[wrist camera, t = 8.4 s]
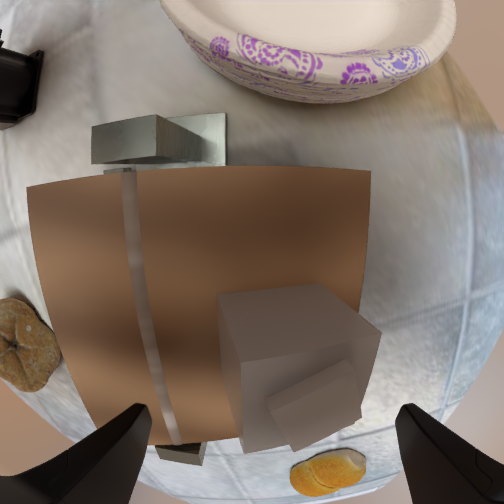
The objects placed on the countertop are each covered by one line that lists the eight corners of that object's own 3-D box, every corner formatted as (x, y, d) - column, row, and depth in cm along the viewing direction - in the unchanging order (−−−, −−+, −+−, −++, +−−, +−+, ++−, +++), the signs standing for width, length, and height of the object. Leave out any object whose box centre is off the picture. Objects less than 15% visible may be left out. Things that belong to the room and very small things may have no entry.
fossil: (35, 408, 18) (-37, 346, 15) (40, 394, 22) (-24, 340, 18) (71, 343, 22) (-2, 277, 19) (73, 336, 26) (9, 279, 22)
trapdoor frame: (110, 129, 17) (35, 116, 9) (226, 114, 16) (195, 75, 9) (149, 395, 23) (119, 456, 15) (236, 405, 22) (225, 476, 15)
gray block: (222, 379, 14) (247, 466, 8) (216, 293, 12) (245, 376, 7) (310, 364, 15) (361, 433, 10) (319, 282, 14) (392, 341, 8)
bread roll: (276, 470, 26) (276, 496, 22) (337, 439, 24) (343, 468, 20) (318, 485, 27) (320, 508, 23) (374, 458, 25) (381, 482, 21)
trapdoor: (68, 182, 14) (25, 187, 9) (320, 169, 18) (372, 171, 13) (114, 393, 18) (106, 445, 13) (307, 371, 22) (336, 414, 17)
